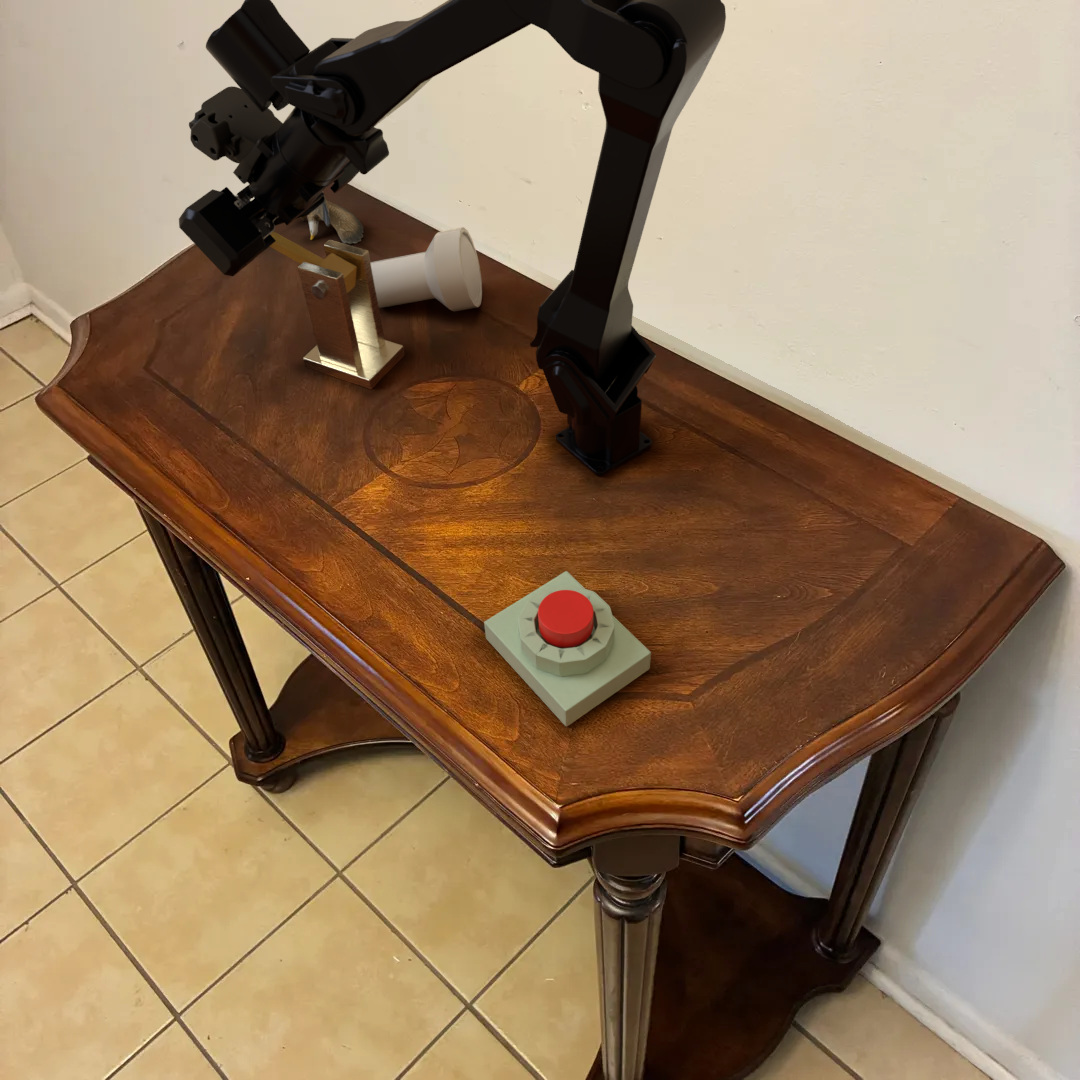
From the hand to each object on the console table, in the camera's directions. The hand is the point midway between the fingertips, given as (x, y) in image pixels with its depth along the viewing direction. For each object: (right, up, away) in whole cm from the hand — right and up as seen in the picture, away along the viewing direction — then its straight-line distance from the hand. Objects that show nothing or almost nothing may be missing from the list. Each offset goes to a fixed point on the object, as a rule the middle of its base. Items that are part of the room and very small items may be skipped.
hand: (240, 236), depth 94 cm
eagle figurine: (+4, +7, +21) cm, 22 cm away
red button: (+30, -35, -22) cm, 52 cm away
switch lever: (+5, -3, -1) cm, 6 cm away
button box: (+31, -38, -19) cm, 52 cm away
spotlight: (+17, -4, +11) cm, 21 cm away
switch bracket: (+10, -11, +5) cm, 16 cm away
